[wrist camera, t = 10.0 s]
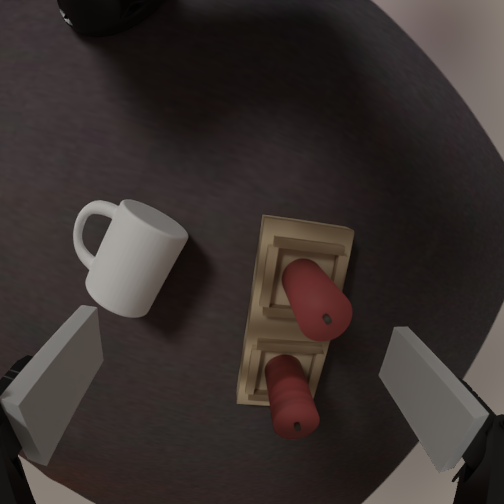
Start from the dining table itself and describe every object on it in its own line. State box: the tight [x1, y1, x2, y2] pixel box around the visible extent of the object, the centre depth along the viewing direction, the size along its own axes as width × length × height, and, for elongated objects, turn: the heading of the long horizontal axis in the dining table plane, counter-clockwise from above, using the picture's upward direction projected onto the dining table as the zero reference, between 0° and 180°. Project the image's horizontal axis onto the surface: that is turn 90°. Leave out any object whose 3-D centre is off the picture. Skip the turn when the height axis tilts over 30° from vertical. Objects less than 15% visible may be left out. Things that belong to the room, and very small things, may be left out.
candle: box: [281, 258, 352, 342], centre depth 30 cm, size 5×5×11 cm
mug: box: [73, 199, 188, 318], centre depth 32 cm, size 12×10×8 cm
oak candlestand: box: [237, 215, 355, 439], centre depth 33 cm, size 24×10×14 cm, turn 172°
